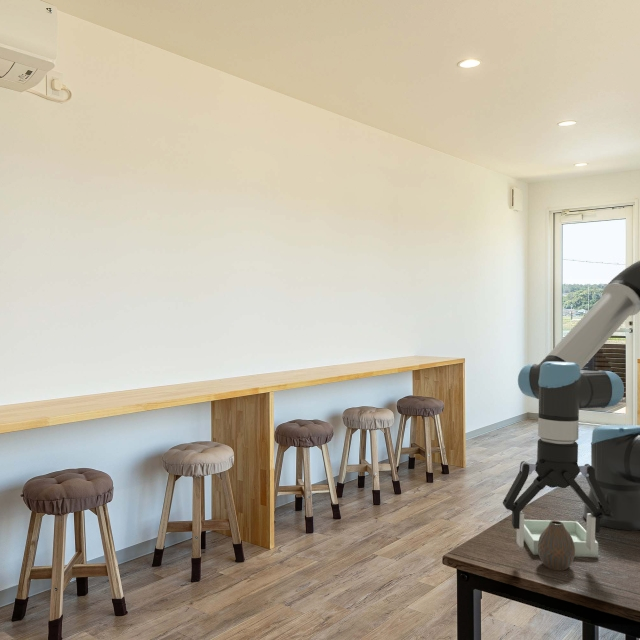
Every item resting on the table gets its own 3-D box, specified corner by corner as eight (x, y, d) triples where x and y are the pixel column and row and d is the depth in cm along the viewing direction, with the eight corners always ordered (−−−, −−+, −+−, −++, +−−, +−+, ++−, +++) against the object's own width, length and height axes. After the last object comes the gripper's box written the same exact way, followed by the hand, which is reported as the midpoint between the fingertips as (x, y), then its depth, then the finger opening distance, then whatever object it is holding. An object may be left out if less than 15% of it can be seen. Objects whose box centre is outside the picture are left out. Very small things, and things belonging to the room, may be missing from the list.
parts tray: (577, 534, 140) (577, 521, 140) (597, 557, 127) (598, 542, 127) (518, 532, 141) (518, 519, 141) (533, 554, 128) (533, 540, 128)
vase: (578, 575, 119) (579, 529, 119) (540, 572, 120) (541, 527, 120) (570, 560, 125) (570, 517, 125) (535, 558, 127) (535, 515, 127)
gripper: (615, 438, 125) (612, 542, 125) (490, 433, 127) (487, 536, 127) (630, 446, 117) (627, 557, 118) (497, 441, 120) (494, 549, 120)
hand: (554, 546), depth 122 cm, fingers open, 13 cm apart
